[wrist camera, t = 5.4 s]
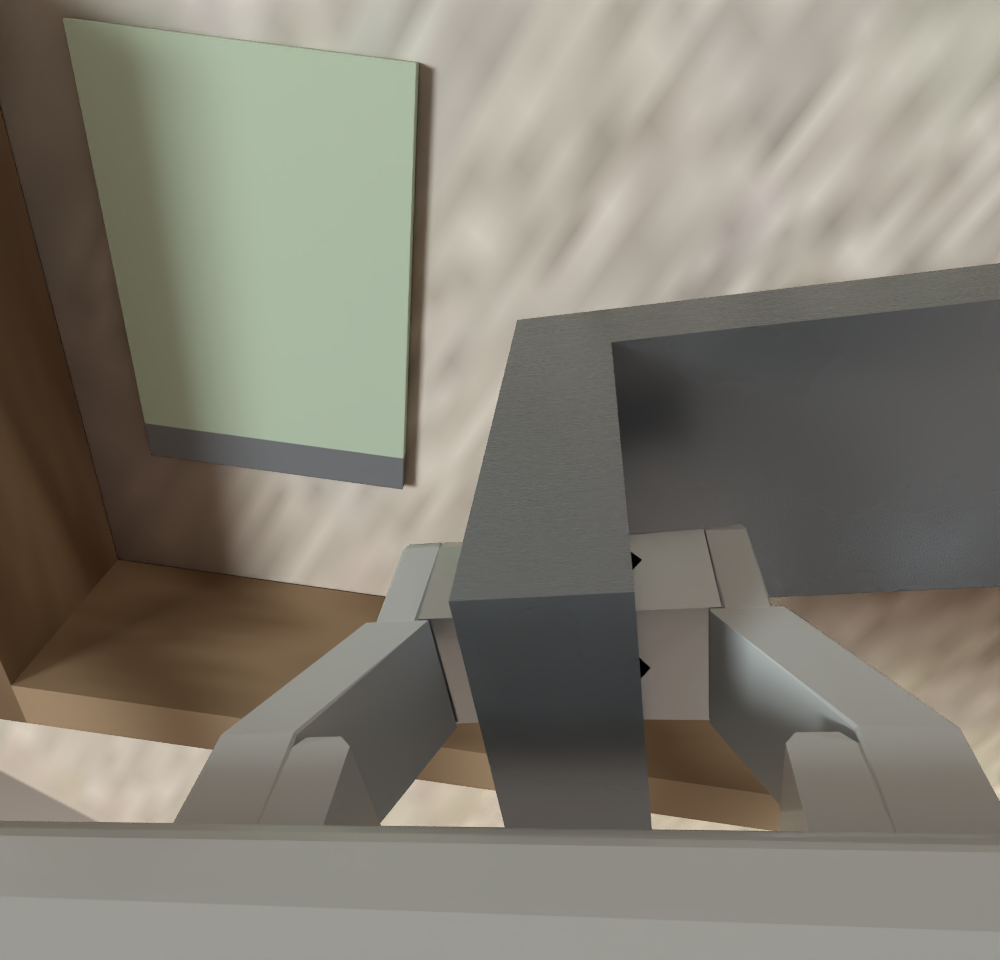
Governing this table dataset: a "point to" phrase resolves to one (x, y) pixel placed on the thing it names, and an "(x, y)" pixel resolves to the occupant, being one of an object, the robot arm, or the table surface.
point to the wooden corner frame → (195, 595)
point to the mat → (258, 243)
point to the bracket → (711, 495)
